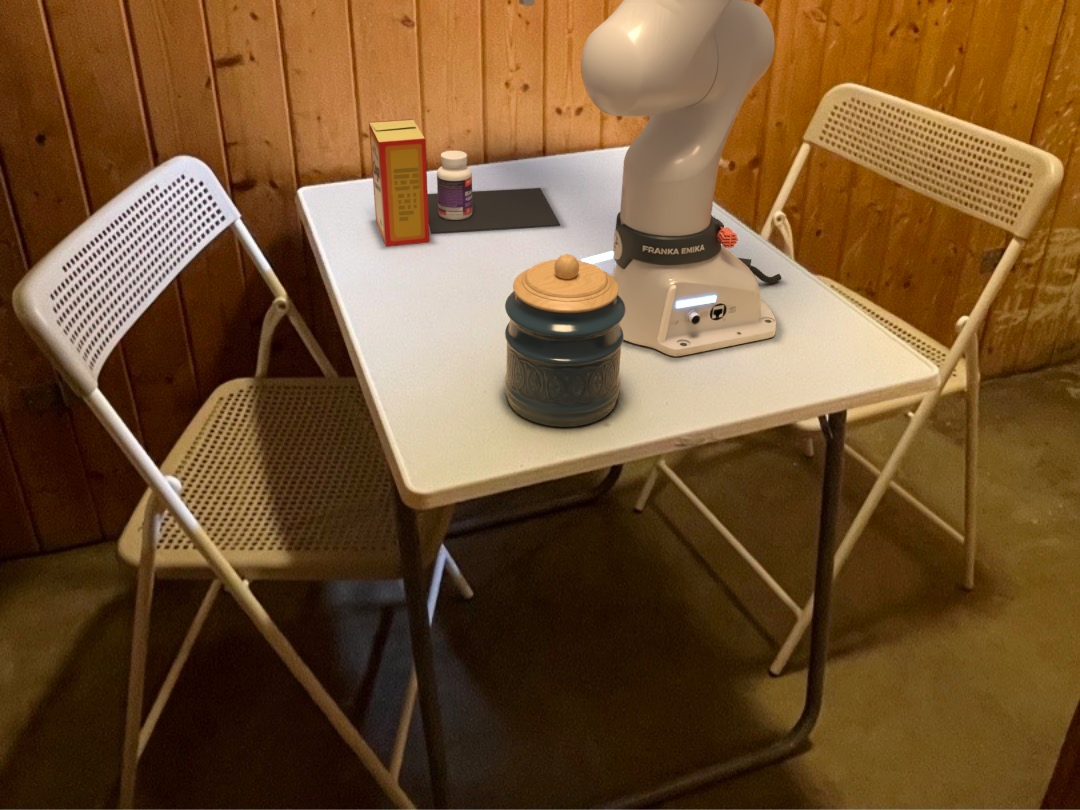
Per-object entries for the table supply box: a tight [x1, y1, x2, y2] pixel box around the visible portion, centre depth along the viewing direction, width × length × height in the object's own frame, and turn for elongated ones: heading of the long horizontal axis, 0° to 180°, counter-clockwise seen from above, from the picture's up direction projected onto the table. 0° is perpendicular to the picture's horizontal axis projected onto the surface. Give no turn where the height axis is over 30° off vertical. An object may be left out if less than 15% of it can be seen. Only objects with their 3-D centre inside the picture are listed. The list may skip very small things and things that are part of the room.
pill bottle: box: [436, 150, 473, 220], centre depth 156 cm, size 5×5×10 cm
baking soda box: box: [368, 118, 431, 247], centre depth 149 cm, size 10×6×16 cm
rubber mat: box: [428, 187, 561, 235], centre depth 161 cm, size 20×16×1 cm
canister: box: [504, 253, 626, 428], centre depth 110 cm, size 13×13×18 cm
